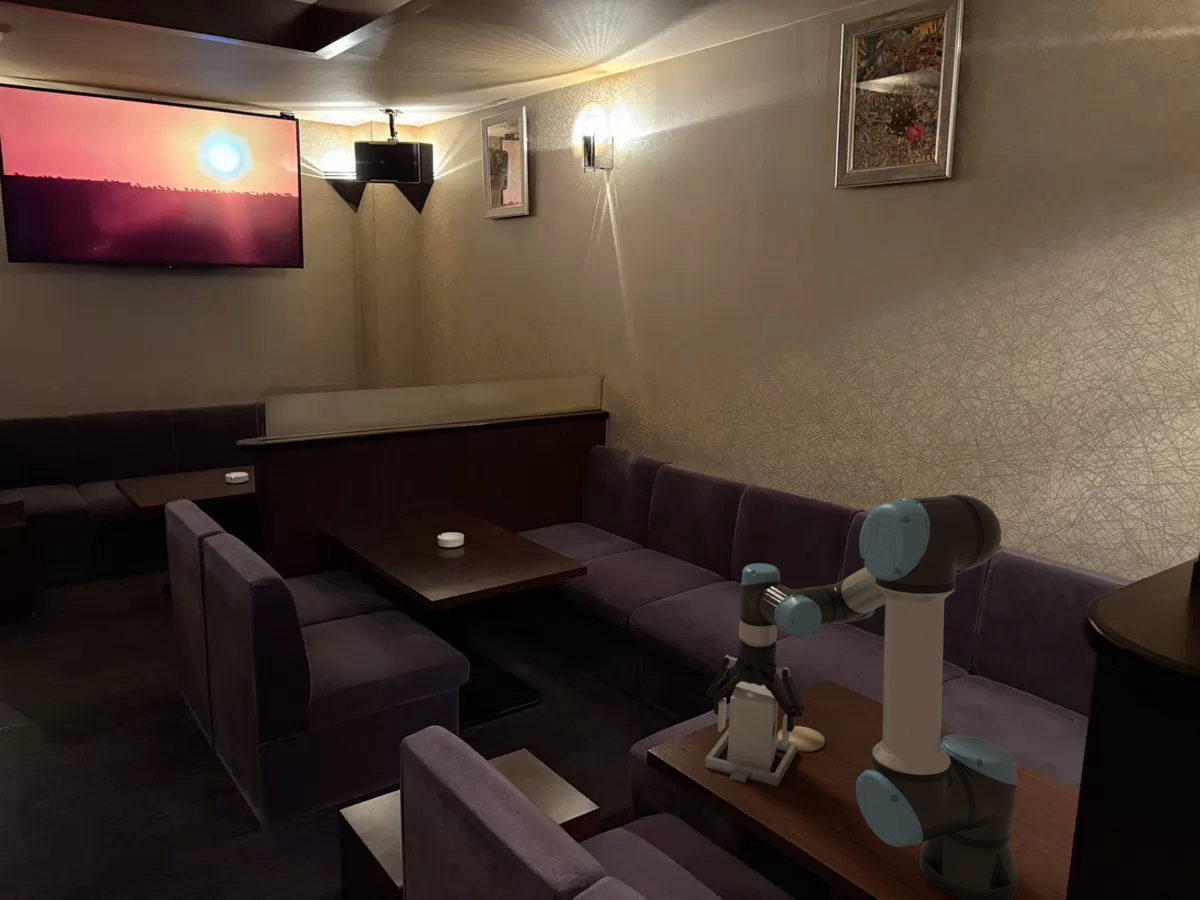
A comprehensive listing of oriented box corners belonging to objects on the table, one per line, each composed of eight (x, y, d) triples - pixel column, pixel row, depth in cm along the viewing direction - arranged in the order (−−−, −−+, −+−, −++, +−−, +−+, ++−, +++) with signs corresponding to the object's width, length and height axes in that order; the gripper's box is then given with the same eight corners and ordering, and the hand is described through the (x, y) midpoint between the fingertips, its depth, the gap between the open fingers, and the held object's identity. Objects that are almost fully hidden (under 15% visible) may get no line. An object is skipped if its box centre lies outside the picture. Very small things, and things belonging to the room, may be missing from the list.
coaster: (818, 755, 184) (818, 753, 184) (771, 744, 188) (772, 742, 188) (829, 735, 193) (829, 732, 193) (784, 724, 197) (784, 722, 197)
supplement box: (770, 774, 176) (774, 705, 174) (726, 766, 179) (729, 697, 177) (776, 752, 185) (780, 686, 182) (734, 745, 188) (737, 679, 185)
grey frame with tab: (774, 791, 170) (775, 781, 170) (701, 771, 177) (702, 762, 177) (799, 747, 187) (799, 738, 187) (731, 731, 194) (732, 722, 193)
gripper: (823, 645, 175) (817, 743, 179) (705, 622, 186) (702, 715, 190) (814, 658, 169) (808, 760, 173) (693, 634, 180) (689, 730, 184)
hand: (752, 736), depth 181 cm, fingers open, 13 cm apart
